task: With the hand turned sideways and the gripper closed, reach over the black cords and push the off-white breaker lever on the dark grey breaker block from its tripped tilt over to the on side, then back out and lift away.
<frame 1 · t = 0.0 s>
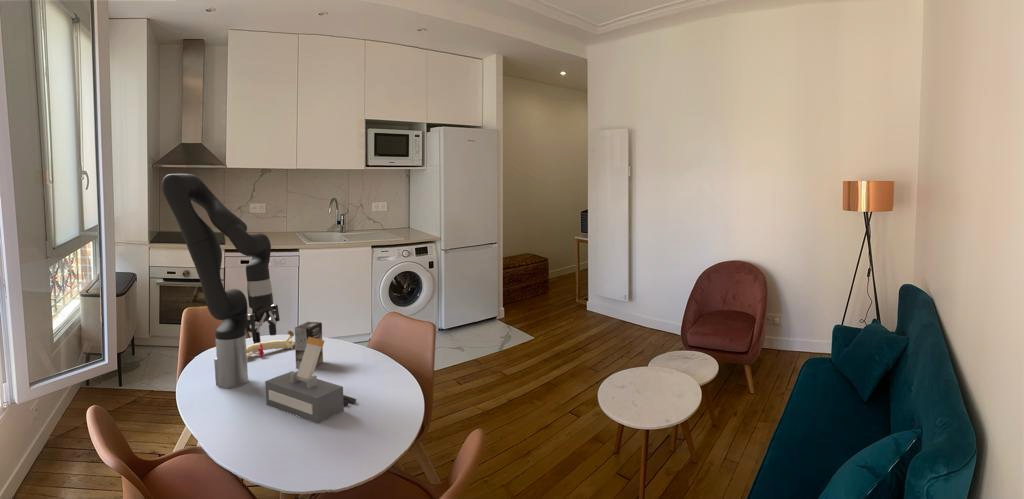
hand: (265, 338, 179), 17 cm above the table, tool pointing down, fingers open, 8 cm apart
coffee box: (309, 365, 202), on the table
breaker block: (304, 407, 165), on the table
breaker lever: (309, 359, 165), point 15 cm above the table, hinge at -25.0°
cat figure: (263, 354, 213), on the table
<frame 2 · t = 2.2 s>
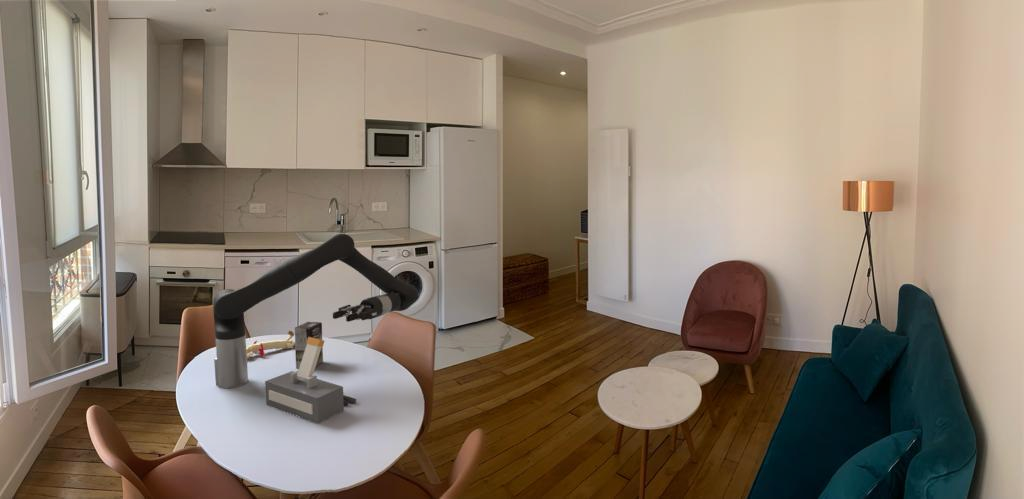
hand: (340, 317, 175), 26 cm above the table, tool horizontal, fingers open, 5 cm apart
nothing on the table moved.
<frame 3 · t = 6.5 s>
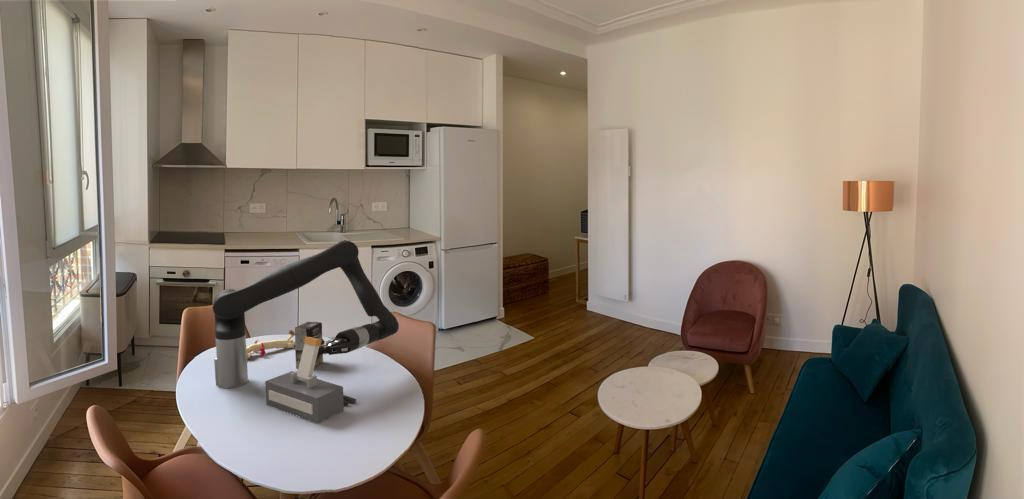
hand: (312, 353, 166), 17 cm above the table, tool horizontal, fingers closed
breaker lever: (308, 359, 165), point 15 cm above the table, hinge at -19.6°, touching gripper
everything else where it was.
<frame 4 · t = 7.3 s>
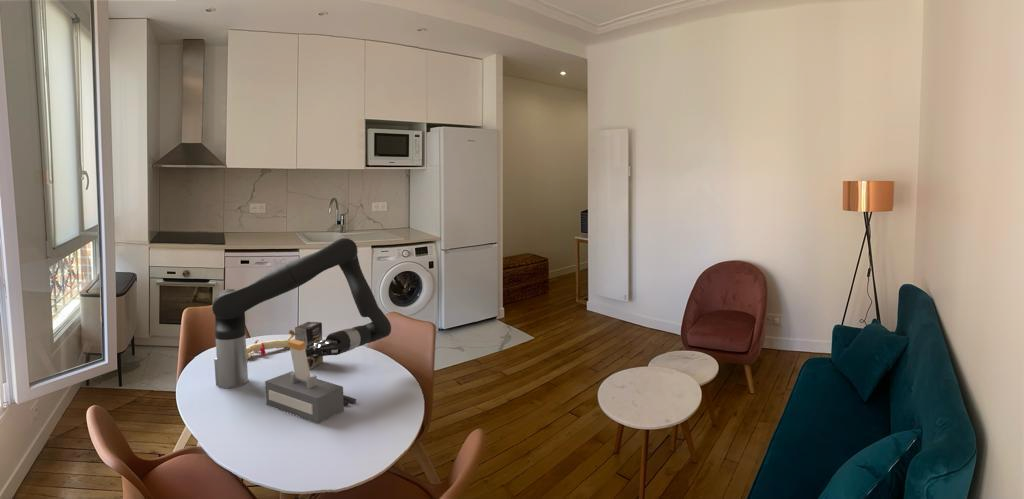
hand: (301, 354, 162), 18 cm above the table, tool horizontal, fingers closed
breaker lever: (300, 361, 162), point 16 cm above the table, hinge at 9.3°, touching gripper
everything else where it was.
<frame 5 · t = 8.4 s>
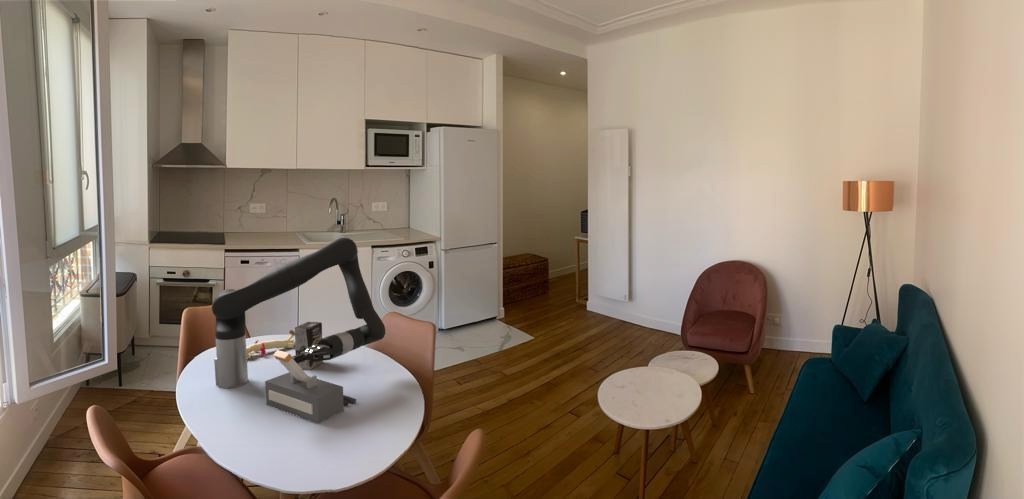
hand: (292, 360, 160), 17 cm above the table, tool horizontal, fingers closed
breaker lever: (293, 367, 160), point 14 cm above the table, hinge at 35.7°, touching gripper
everything else where it was.
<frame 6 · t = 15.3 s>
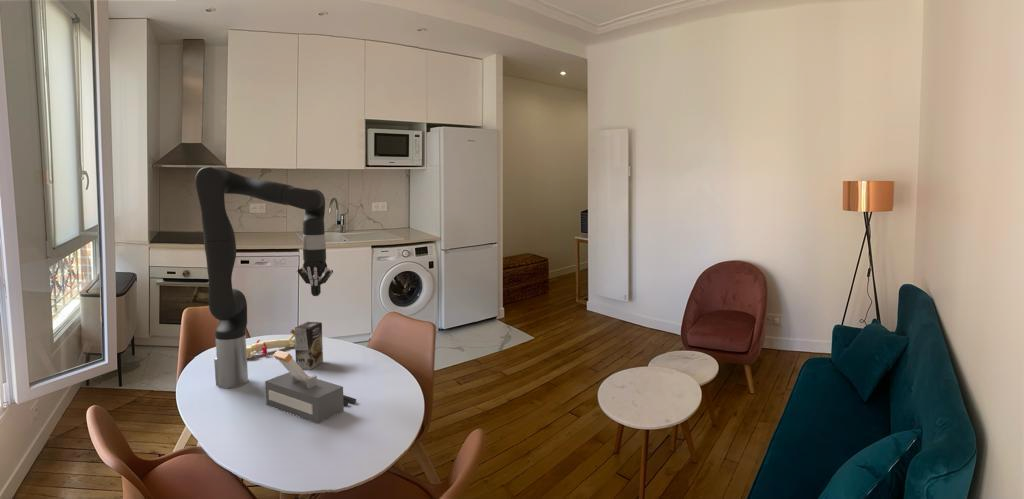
hand: (316, 295, 184), 31 cm above the table, tool pointing down, fingers closed
breaker lever: (293, 367, 160), point 14 cm above the table, hinge at 35.7°
at the end: breaker lever at +36° (first picture: -25°); coffee box moved 0.2 cm from its start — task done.
